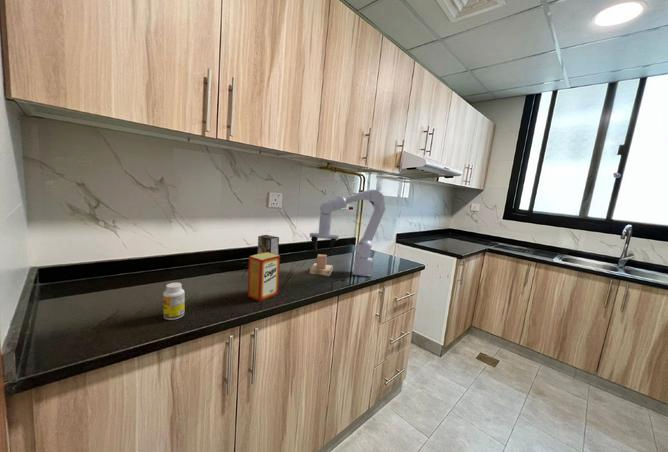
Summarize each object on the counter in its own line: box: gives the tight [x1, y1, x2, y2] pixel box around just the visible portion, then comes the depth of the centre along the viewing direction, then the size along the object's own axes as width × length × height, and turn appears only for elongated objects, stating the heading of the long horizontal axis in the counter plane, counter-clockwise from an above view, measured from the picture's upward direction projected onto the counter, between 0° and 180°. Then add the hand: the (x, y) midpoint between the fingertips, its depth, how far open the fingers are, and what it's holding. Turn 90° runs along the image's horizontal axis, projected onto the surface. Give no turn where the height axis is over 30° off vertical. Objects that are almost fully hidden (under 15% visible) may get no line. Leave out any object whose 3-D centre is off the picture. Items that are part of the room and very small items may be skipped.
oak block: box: [309, 262, 334, 277], centre depth 133 cm, size 10×10×3 cm
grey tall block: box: [257, 234, 280, 255], centre depth 132 cm, size 9×6×16 cm
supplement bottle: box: [162, 282, 186, 321], centre depth 79 cm, size 6×6×10 cm
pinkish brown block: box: [316, 253, 328, 269], centre depth 132 cm, size 4×4×6 cm
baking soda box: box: [247, 252, 281, 302], centre depth 98 cm, size 10×6×16 cm
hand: (322, 252), depth 131 cm, fingers open, 7 cm apart
